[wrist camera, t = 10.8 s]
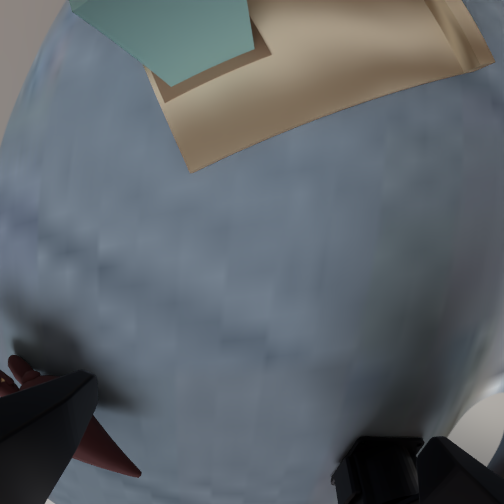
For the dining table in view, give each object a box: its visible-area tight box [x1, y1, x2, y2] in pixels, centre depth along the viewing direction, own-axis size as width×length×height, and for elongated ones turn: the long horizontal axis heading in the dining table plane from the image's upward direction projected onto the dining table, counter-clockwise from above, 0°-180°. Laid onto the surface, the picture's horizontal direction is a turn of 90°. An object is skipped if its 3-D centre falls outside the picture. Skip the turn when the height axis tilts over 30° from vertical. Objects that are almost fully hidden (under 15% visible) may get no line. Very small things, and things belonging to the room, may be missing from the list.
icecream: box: [0, 355, 142, 478], centre depth 19 cm, size 7×7×15 cm
